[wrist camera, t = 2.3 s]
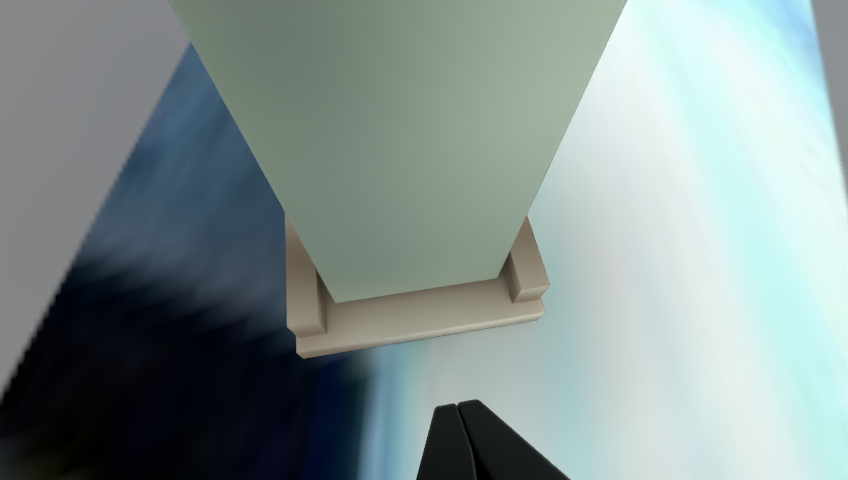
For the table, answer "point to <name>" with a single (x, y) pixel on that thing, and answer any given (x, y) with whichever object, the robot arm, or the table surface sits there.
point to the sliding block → (402, 122)
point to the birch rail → (409, 303)
